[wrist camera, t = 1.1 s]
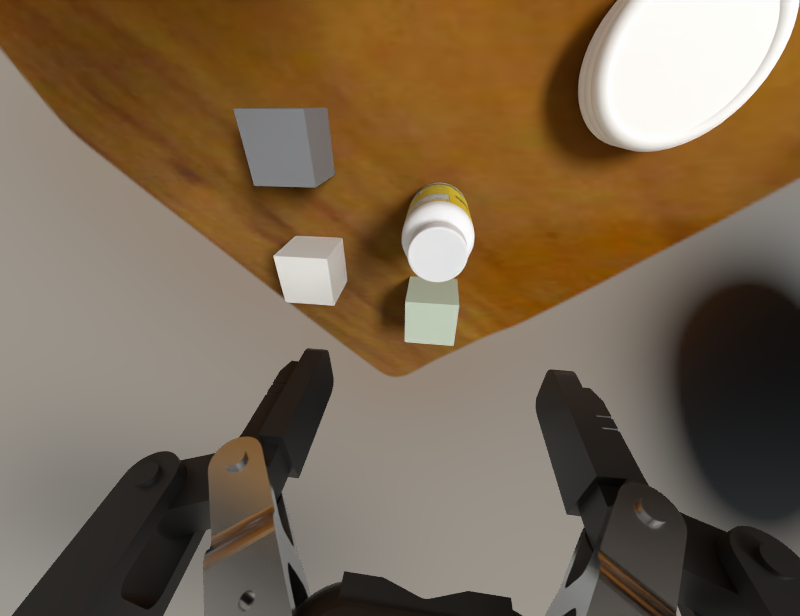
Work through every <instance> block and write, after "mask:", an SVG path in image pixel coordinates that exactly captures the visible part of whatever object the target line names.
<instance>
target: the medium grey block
mask: <svg viewBox="0 0 800 616" xmlns="http://www.w3.org/2000/svg"><path fill="white" fill-rule="evenodd" d="M234 113H235V116H236V120H237V124H238V128H239V131H240V135H241V139H242V142H243V146H244V150H245V154H246V157H247V161H248V165H249V168H250V172H251V176H252V180H253V183H254V186H279V187H313V188H316V187H317V186H319V185H320V184H322V183H323V182H325V181H326V180H328V179H329V178H331V177H332V176H334V175H335V171H334V162H333V154H332V145H331V137H330V128H329V120H328V111H327V107H264V108H238V109H234Z"/></svg>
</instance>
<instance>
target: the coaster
mask: <svg viewBox="0 0 800 616" xmlns="http://www.w3.org/2000/svg"><path fill="white" fill-rule="evenodd" d="M798 7H799V0H617V1H616V3H615V4H614V5H613V6H612V7H611V9H610V10H609V12H608V13H607V14H606V16H605V17H604V18H603V20H602V22H601V23H600V25H599V26H598V28H597V30H596V31H595V33H594V35H593V37H592V39H591V41H590V43H589V46H588V48H587V51H586V53H585V56H584V59H583V62H582V66H581V70H580V75H579V81H578V101H579V106H580V111H581V114H582V117H583V120H584V122H585V124H586V126H587V127H588V129H589V130H590V131H591V132H592V134H593V135H595V136H596V137H597V138H598V139H600V140H601V141H603V142H604V143H607V144H609V145H612V146H616V147H619V148H624V149H627V150H632V151H638V152H651V151H659V150H664V149H669V148H672V147H676V146H679V145H682V144H684V143H687V142H689V141H691V140H693V139H696V138H697V137H699V136H701V135H703V134H705V133H707V132H708V131H710V130H711V129H713V128H714V127H716V126H717V125H719V124H720V123H722V122H723V121H724V120H726V119H727V118H728V117H729V116H731V115H732V114H733V113H734V112H735V111H736V110H737V109H739V108H740V107H741V106H742V105H743V104H744V103H745V102H746V101H747V100H748V99H749V98H750V97H751V96H752V95H753V93H754V92H755V91H756V90H757V89H758V88H759V86H760V85H761V84H762V83H763V81H764V80H765V79H766V78H767V76H768V75H769V73H770V72H771V70H772V69H773V67H774V66H775V64H776V63H777V61H778V59H779V57H780V56H781V54H782V52H783V50H784V48H785V46H786V44H787V42H788V39H789V37H790V35H791V32H792V29H793V26H794V23H795V21H796V16H797V12H798Z"/></svg>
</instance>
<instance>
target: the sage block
mask: <svg viewBox="0 0 800 616" xmlns="http://www.w3.org/2000/svg"><path fill="white" fill-rule="evenodd" d="M458 310H459V297H458V284H457V279H450V280H448V281H444V282H430V281H427V280H424V279H422V278H421V277H410V279H409V285H408V290H407V295H406V300H405V342H412V343H424V344H437V345H449V346H454V339H455V332H456V325H457V317H458Z"/></svg>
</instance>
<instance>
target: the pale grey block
mask: <svg viewBox="0 0 800 616" xmlns="http://www.w3.org/2000/svg"><path fill="white" fill-rule="evenodd" d="M273 257H274V261H275V265H276V268H277V272H278V276H279V280H280V283H281V287H282V291H283V295H284V298H285V302H290V303H304V304H319V305H333V306H334V305H335V303H336V301H337V299H338V298H339V296H340V294H341V292H342V290H343V288H344V286H345V284H346V283H347V273H346V264H345V256H344V247H343V238H331V237H310V236H295V237H294V238H292V239H291V240H290V241H289V242H288V243H287V244H286V245H285V246H284V247H283V248H281V249H280V250H279V251H278V252H277V253H276V254H275V255H274V256H273Z"/></svg>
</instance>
